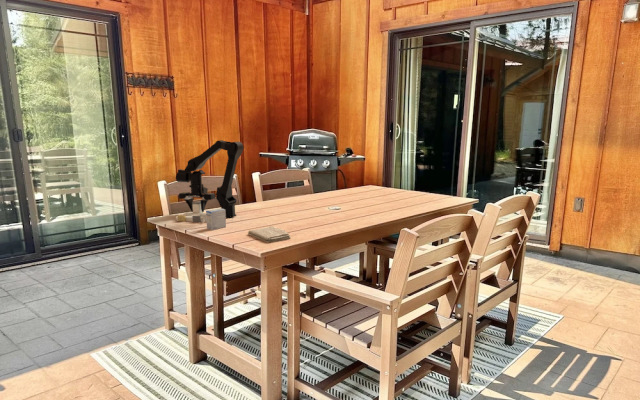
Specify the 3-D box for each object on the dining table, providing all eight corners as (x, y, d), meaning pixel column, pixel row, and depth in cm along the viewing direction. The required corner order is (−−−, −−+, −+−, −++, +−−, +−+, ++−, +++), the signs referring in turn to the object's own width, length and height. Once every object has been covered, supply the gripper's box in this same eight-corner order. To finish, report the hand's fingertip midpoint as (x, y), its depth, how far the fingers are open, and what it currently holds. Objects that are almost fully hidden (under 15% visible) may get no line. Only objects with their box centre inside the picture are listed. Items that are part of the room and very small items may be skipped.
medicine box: (220, 225, 198) (219, 207, 197) (226, 227, 195) (225, 209, 194) (206, 228, 192) (205, 210, 191) (212, 230, 189) (211, 211, 188)
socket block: (213, 217, 216) (213, 211, 215) (202, 222, 204) (202, 216, 204) (187, 216, 219) (186, 210, 218) (174, 221, 208) (174, 215, 207)
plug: (202, 214, 224) (201, 201, 223) (199, 215, 221) (198, 202, 219) (196, 213, 225) (195, 201, 224) (193, 215, 221) (192, 202, 220)
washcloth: (268, 244, 168) (268, 237, 168) (246, 235, 182) (246, 228, 182) (292, 239, 176) (292, 232, 175) (270, 231, 190) (270, 224, 189)
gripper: (219, 181, 226) (220, 209, 228) (187, 180, 229) (189, 208, 232) (209, 184, 215) (211, 213, 218) (176, 183, 219) (178, 212, 221)
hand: (197, 211), depth 222 cm, fingers open, 6 cm apart
